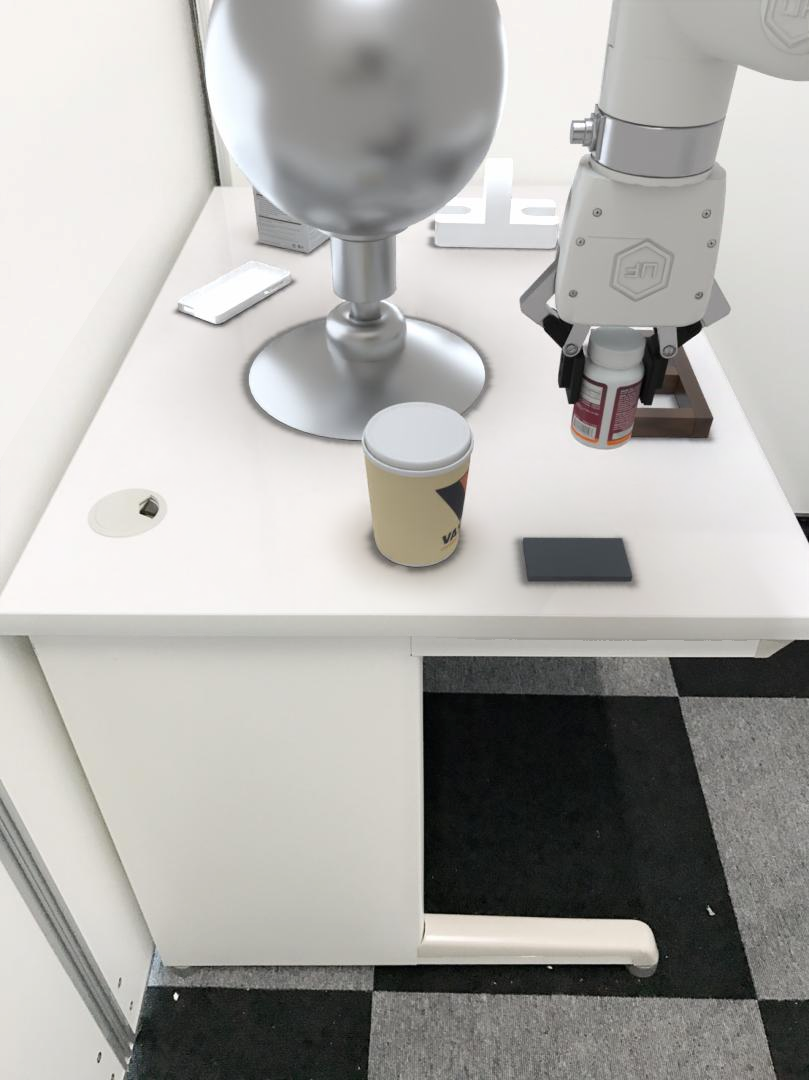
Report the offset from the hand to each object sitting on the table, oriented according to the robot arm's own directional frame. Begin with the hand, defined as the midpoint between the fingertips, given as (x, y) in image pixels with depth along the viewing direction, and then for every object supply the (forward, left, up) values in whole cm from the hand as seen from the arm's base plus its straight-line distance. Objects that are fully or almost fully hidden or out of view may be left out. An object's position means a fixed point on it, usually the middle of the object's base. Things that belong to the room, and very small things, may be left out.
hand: (607, 392), depth 64 cm
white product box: (+55, -53, -18) cm, 79 cm away
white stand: (+28, -65, -18) cm, 73 cm away
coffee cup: (+14, +3, -18) cm, 23 cm away
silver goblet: (+30, -22, -18) cm, 42 cm away
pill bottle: (0, 0, -4) cm, 4 cm away
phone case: (+54, -33, -18) cm, 66 cm away
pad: (0, 0, -18) cm, 18 cm away
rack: (-1, -31, -18) cm, 35 cm away
